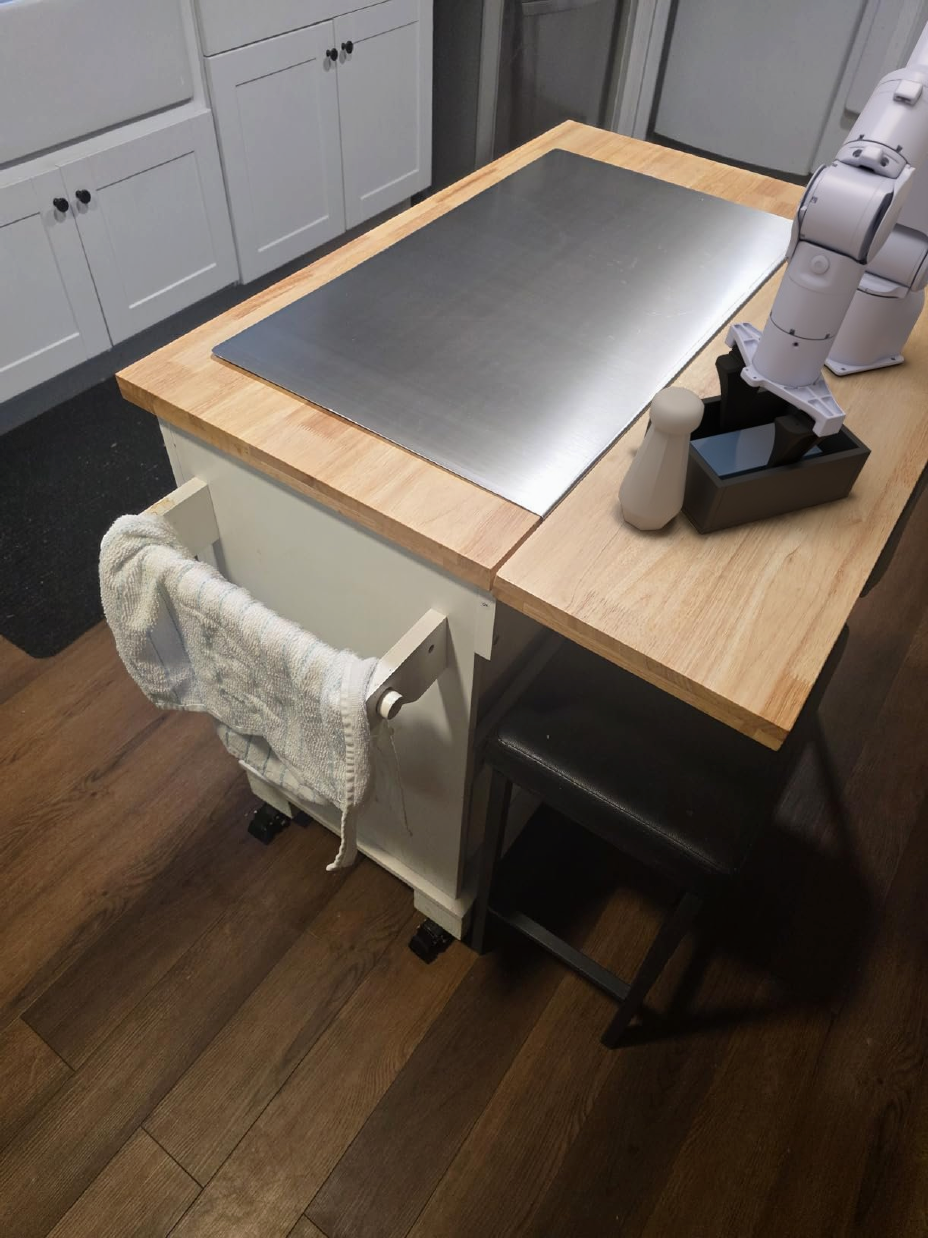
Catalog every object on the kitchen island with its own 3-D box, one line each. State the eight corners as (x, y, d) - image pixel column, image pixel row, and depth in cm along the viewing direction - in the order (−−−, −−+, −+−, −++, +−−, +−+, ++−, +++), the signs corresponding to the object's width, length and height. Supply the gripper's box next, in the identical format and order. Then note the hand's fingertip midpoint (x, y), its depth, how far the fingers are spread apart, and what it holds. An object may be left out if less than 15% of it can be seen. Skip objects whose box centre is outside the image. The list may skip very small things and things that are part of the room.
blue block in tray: (681, 465, 84) (689, 440, 82) (779, 443, 88) (790, 418, 85) (709, 500, 81) (719, 475, 79) (811, 475, 85) (822, 451, 82)
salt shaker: (685, 510, 81) (727, 392, 71) (662, 546, 78) (702, 428, 68) (628, 486, 83) (661, 367, 73) (603, 520, 79) (633, 401, 69)
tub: (777, 424, 91) (796, 378, 86) (847, 496, 84) (872, 450, 80) (638, 455, 86) (651, 408, 82) (700, 534, 79) (718, 487, 75)
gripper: (716, 283, 75) (676, 412, 85) (818, 378, 67) (760, 509, 77) (783, 272, 77) (736, 400, 87) (890, 363, 69) (824, 493, 79)
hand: (751, 450), depth 82 cm, fingers open, 7 cm apart
